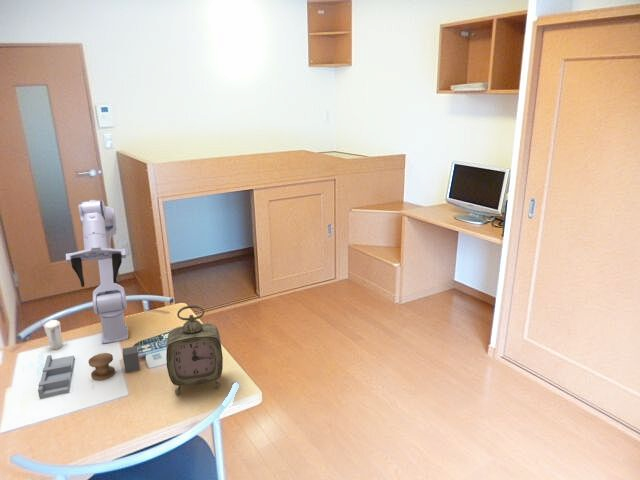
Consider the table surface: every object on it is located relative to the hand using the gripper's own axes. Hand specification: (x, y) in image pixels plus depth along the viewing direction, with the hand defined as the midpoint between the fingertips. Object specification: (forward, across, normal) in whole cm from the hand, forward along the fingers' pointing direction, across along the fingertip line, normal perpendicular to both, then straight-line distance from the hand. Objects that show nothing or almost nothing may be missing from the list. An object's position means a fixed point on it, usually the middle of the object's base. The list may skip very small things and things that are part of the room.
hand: (99, 283), depth 121 cm
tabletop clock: (+29, +23, +14) cm, 39 cm away
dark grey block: (+17, +7, +26) cm, 32 cm away
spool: (+17, -1, +27) cm, 32 cm away
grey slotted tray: (+15, -13, +30) cm, 36 cm away
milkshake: (+1, -14, +43) cm, 46 cm away
